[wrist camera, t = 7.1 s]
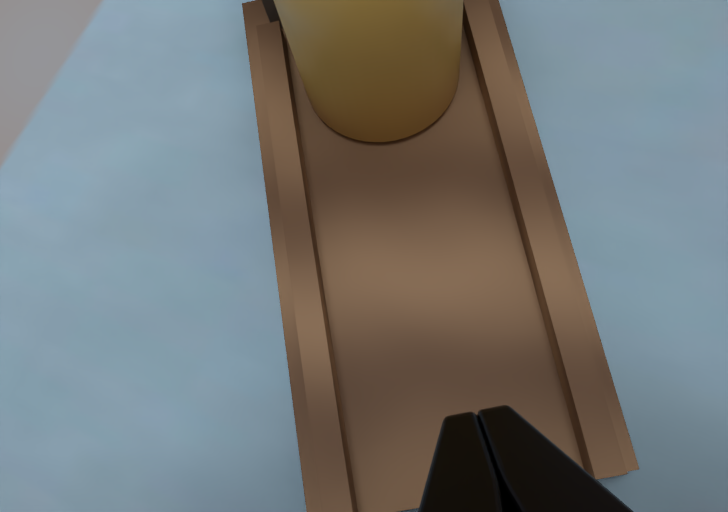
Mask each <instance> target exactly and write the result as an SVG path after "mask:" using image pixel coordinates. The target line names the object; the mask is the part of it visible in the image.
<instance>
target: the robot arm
mask: <svg viewBox="0 0 728 512" xmlns="http://www.w3.org/2000/svg"><path fill="white" fill-rule="evenodd" d="M418 512H633V511H632V510H631V509H630V508H629V507H627V506H626V505H625V504H624V503H623V502H622V501H620V500H619V499H618V498H617V497H616V496H615V495H613V494H612V493H611V492H610V491H609V490H608V489H606V488H605V487H604V486H603V485H602V484H601V483H599V482H598V481H597V480H596V479H595V478H594V477H592V476H591V475H590V474H589V473H588V472H586V471H585V470H584V469H583V468H582V467H581V466H579V465H578V464H577V463H576V462H575V461H574V460H572V459H571V458H570V457H569V456H568V455H567V454H565V453H564V452H563V451H562V450H561V449H560V448H558V447H557V446H556V445H555V444H554V443H553V442H551V441H550V440H549V439H548V438H547V437H546V436H544V435H543V434H542V433H541V432H540V431H538V430H537V429H536V428H535V427H534V426H533V425H531V424H530V423H529V422H528V421H527V420H526V419H524V418H523V417H522V416H521V415H520V414H519V413H517V412H516V411H515V410H514V409H513V408H512V407H510V406H508V405H500V406H495V407H490V408H485V409H481V410H479V411H478V413H477V415H476V414H475V413H474V412H472V411H469V412H464V413H459V414H454V415H449V416H446V417H445V418H444V420H443V422H442V425H441V429H440V433H439V436H438V440H437V444H436V447H435V451H434V455H433V458H432V462H431V466H430V469H429V473H428V477H427V480H426V484H425V488H424V491H423V495H422V499H421V502H420V506H419V510H418Z"/></svg>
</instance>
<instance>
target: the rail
mask: <svg viewBox="0 0 728 512" xmlns="http://www.w3.org/2000/svg"><path fill="white" fill-rule="evenodd" d="M242 7H243V15H244V22H245V30H246V38H247V46H248V54H249V62H250V70H251V77H252V85H253V93H254V101H255V109H256V117H257V125H258V132H259V140H260V148H261V156H262V164H263V172H264V180H265V187H266V195H267V203H268V211H269V219H270V227H271V235H272V242H273V250H274V258H275V266H276V274H277V282H278V290H279V297H280V305H281V313H282V321H283V329H284V337H285V345H286V352H287V360H288V368H289V376H290V384H291V392H292V400H293V407H294V415H295V423H296V431H297V439H298V447H299V455H300V462H301V470H302V478H303V486H304V494H305V502H306V510H307V512H398V511H403V510H409V509H415V508H419V506H420V502H421V499H422V495H423V491H424V488H425V484H426V480H427V477H428V473H429V469H430V466H431V462H432V458H433V455H434V451H435V447H436V444H437V440H438V436H439V433H440V429H441V425H442V422H443V420H444V418H445V417H446V416H449V415H454V414H459V413H464V412H469V411H472V412H474V413H475V414H476V415H477V413H478V411H479V410H481V409H485V408H490V407H495V406H500V405H508V406H510V407H512V408H513V409H514V410H515V411H516V412H517V413H519V414H520V415H521V416H522V417H523V418H524V419H526V420H527V421H528V422H529V423H530V424H531V425H533V426H534V427H535V428H536V429H537V430H538V431H540V432H541V433H542V434H543V435H544V436H546V437H547V438H548V439H549V440H550V441H551V442H553V443H554V444H555V445H556V446H557V447H558V448H560V449H561V450H562V451H563V452H564V453H565V454H567V455H568V456H569V457H570V458H571V459H572V460H574V461H575V462H576V463H577V464H578V465H579V466H581V467H582V468H583V469H584V470H585V471H586V472H588V473H589V474H590V475H591V476H592V477H594V478H595V479H602V478H607V477H613V476H619V475H624V474H627V471H632V470H638V469H639V466H638V463H637V460H636V456H635V453H634V450H633V447H632V443H631V440H630V437H629V433H628V430H627V427H626V423H625V420H624V417H623V413H622V410H621V407H620V403H619V400H618V397H617V393H616V390H615V387H614V383H613V380H612V377H611V373H610V370H609V367H608V363H607V360H606V357H605V353H604V350H603V347H602V343H601V340H600V337H599V333H598V330H597V327H596V323H595V320H594V317H593V313H592V310H591V307H590V303H589V300H588V297H587V293H586V290H585V287H584V283H583V280H582V277H581V273H580V270H579V267H578V263H577V260H576V257H575V253H574V250H573V247H572V243H571V240H570V237H569V233H568V230H567V227H566V223H565V220H564V217H563V213H562V210H561V207H560V204H559V200H558V197H557V194H556V190H555V187H554V184H553V180H552V177H551V174H550V170H549V167H548V164H547V160H546V157H545V154H544V150H543V147H542V144H541V140H540V137H539V134H538V130H537V127H536V124H535V120H534V117H533V114H532V110H531V107H530V104H529V100H528V97H527V94H526V90H525V87H524V84H523V80H522V77H521V74H520V70H519V67H518V64H517V60H516V57H515V54H514V50H513V47H512V44H511V40H510V37H509V34H508V30H507V27H506V24H505V20H504V17H503V14H502V10H501V7H500V4H499V0H463V18H462V37H461V55H460V73H459V81H458V86H457V89H456V93H455V95H454V97H453V99H452V101H451V103H450V104H449V106H448V107H447V109H446V110H445V111H444V112H443V114H442V115H441V116H440V117H439V118H438V119H437V120H436V121H435V122H433V123H432V124H431V125H429V126H428V127H426V128H425V129H423V130H422V131H420V132H418V133H416V134H414V135H411V136H409V137H406V138H403V139H399V140H395V141H388V142H366V141H361V140H356V139H352V138H350V137H347V136H344V135H342V134H340V133H338V132H336V131H335V130H333V129H332V128H330V127H329V126H328V125H327V124H325V123H324V122H323V121H322V120H321V119H320V117H319V116H318V115H317V114H316V112H315V111H314V109H313V107H312V106H311V103H310V101H309V98H308V96H307V93H306V90H305V87H304V84H303V82H302V79H301V76H300V73H299V70H298V68H297V65H296V62H295V59H294V56H293V54H292V51H291V48H290V45H289V42H288V40H287V37H286V34H285V31H284V28H283V26H282V23H281V20H280V17H279V14H278V12H277V9H276V6H275V3H274V0H255V1H251V2H247V3H242Z"/></svg>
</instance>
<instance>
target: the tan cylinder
mask: <svg viewBox="0 0 728 512" xmlns="http://www.w3.org/2000/svg"><path fill="white" fill-rule="evenodd" d="M274 3H275V6H276V9H277V12H278V14H279V17H280V20H281V23H282V26H283V28H284V31H285V34H286V37H287V40H288V42H289V45H290V48H291V51H292V54H293V56H294V59H295V62H296V65H297V68H298V70H299V73H300V76H301V79H302V82H303V84H304V87H305V90H306V93H307V96H308V98H309V101H310V103H311V106H312V107H313V109H314V111H315V112H316V114H317V115H318V116H319V117H320V119H321V120H322V121H323V122H324V123H325V124H327V125H328V126H329V127H330V128H332V129H333V130H335V131H336V132H338V133H340V134H342V135H344V136H347V137H350V138H352V139H356V140H361V141H366V142H388V141H395V140H399V139H403V138H406V137H409V136H411V135H414V134H416V133H418V132H420V131H422V130H423V129H425V128H426V127H428V126H429V125H431V124H432V123H433V122H435V121H436V120H437V119H438V118H439V117H440V116H441V115H442V114H443V112H444V111H445V110H446V109H447V107H448V106H449V104H450V103H451V101H452V99H453V97H454V95H455V93H456V89H457V86H458V81H459V73H460V55H461V37H462V18H463V0H274Z"/></svg>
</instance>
